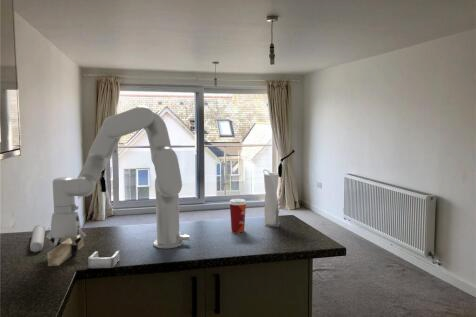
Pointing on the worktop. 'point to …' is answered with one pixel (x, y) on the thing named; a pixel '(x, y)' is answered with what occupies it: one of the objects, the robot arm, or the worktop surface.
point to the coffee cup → (237, 214)
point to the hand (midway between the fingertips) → (66, 253)
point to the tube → (37, 239)
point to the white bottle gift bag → (271, 199)
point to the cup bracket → (103, 261)
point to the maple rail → (62, 252)
